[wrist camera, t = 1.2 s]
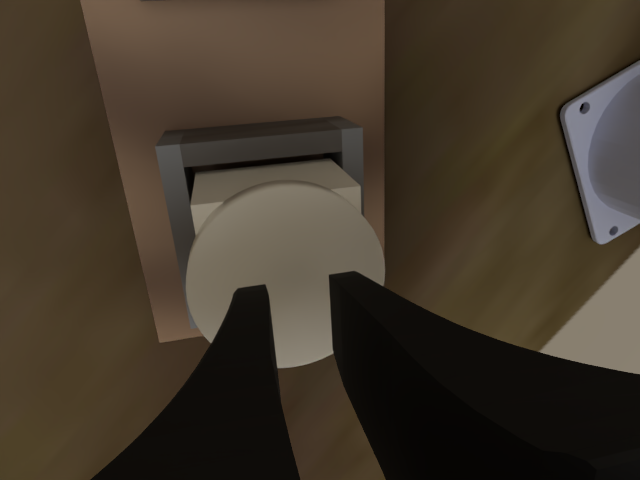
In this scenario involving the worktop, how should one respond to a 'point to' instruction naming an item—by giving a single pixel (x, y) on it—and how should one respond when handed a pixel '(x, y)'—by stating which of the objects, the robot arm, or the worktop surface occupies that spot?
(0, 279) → the worktop surface
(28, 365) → the worktop surface
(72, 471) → the worktop surface
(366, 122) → the knob backing plate
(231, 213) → the knob
